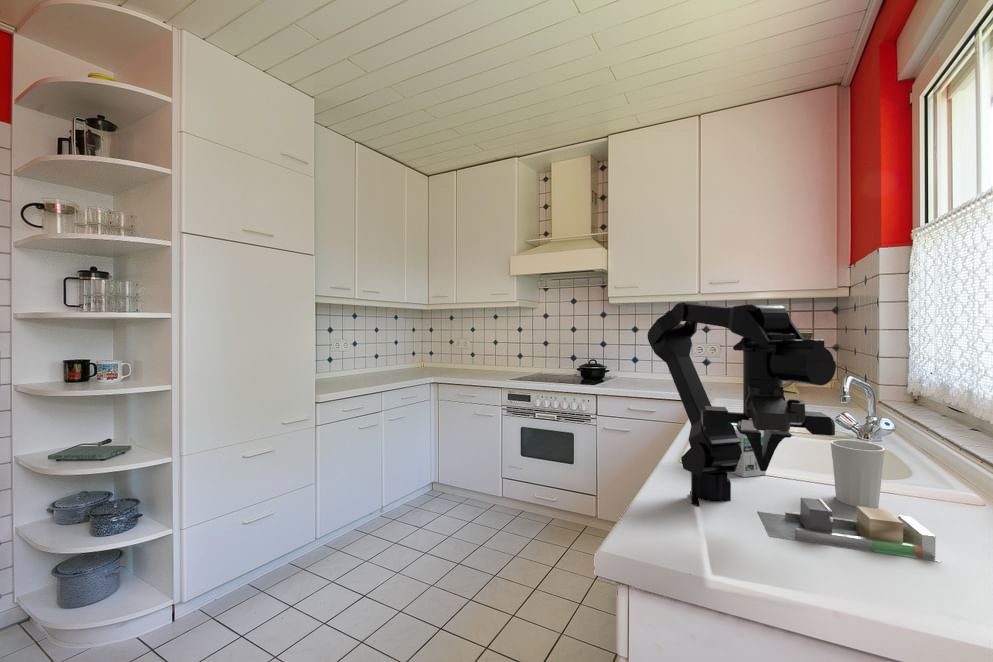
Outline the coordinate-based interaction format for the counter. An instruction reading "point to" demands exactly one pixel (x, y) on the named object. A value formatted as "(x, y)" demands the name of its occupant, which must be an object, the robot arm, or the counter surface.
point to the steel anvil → (918, 535)
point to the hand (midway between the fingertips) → (762, 470)
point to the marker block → (879, 524)
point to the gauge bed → (837, 536)
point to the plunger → (816, 515)
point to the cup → (857, 472)
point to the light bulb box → (747, 457)
